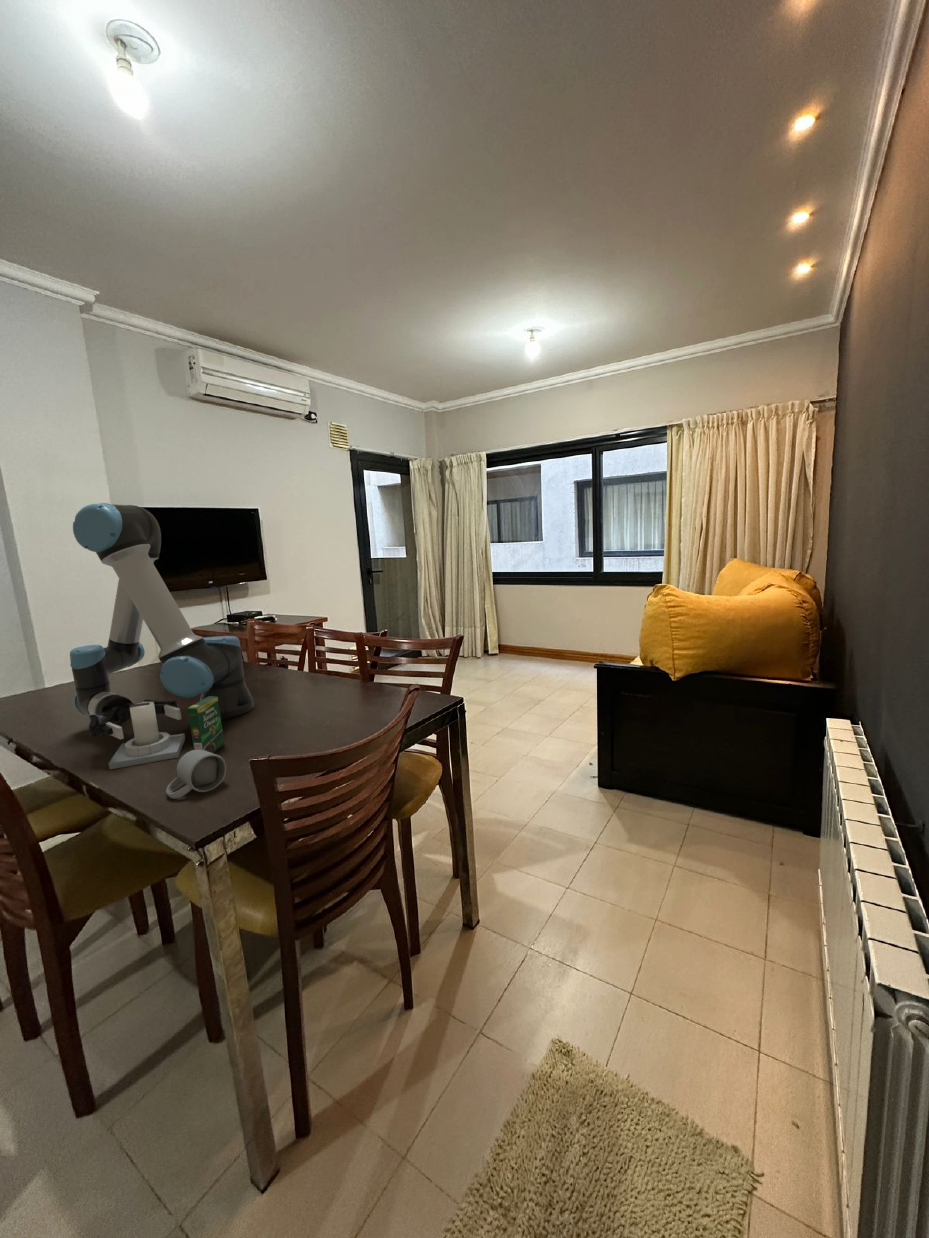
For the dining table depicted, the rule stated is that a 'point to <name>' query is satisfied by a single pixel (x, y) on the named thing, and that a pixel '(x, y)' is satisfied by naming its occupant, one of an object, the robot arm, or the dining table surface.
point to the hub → (147, 751)
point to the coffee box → (206, 725)
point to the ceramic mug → (198, 773)
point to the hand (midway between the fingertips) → (151, 723)
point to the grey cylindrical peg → (144, 723)
